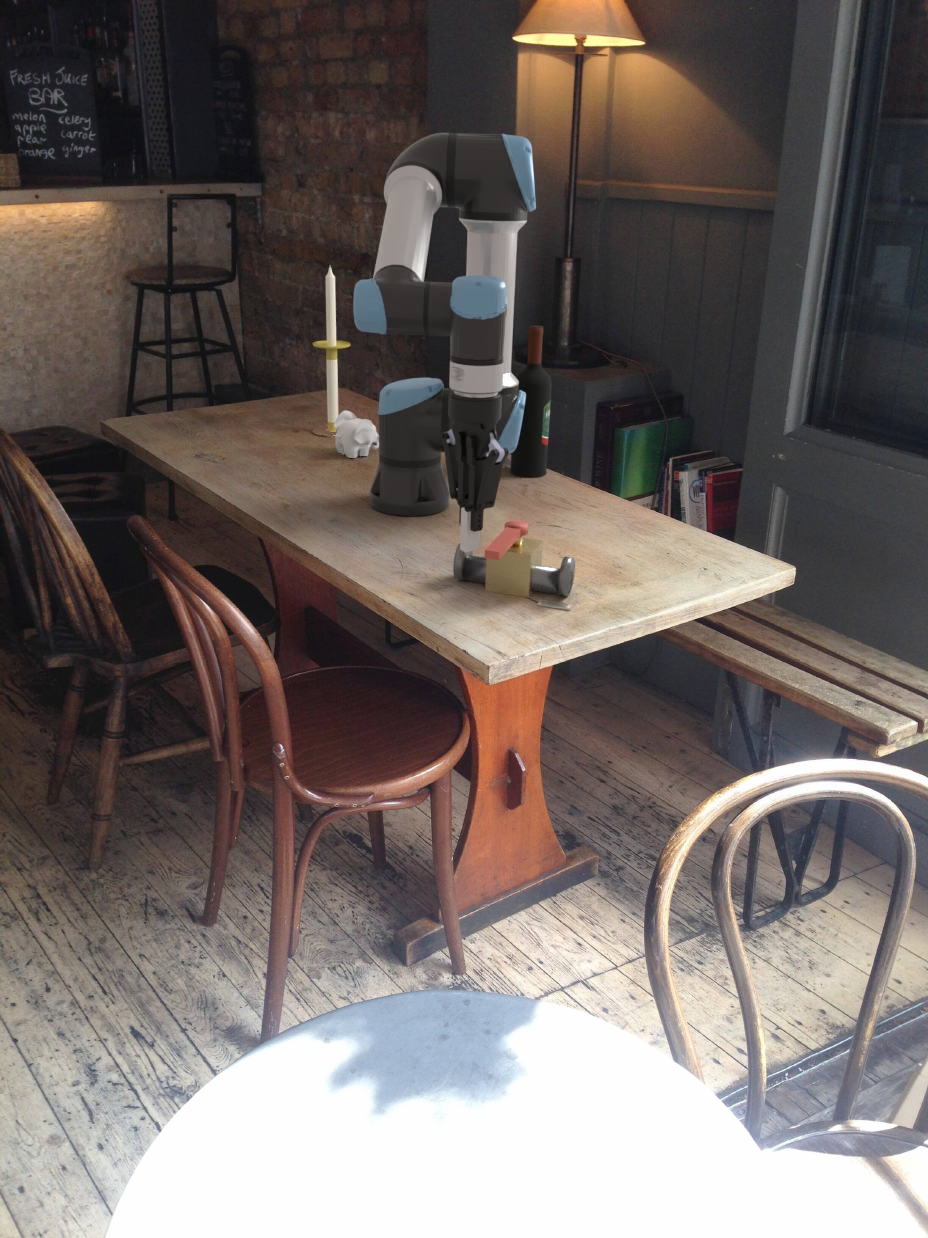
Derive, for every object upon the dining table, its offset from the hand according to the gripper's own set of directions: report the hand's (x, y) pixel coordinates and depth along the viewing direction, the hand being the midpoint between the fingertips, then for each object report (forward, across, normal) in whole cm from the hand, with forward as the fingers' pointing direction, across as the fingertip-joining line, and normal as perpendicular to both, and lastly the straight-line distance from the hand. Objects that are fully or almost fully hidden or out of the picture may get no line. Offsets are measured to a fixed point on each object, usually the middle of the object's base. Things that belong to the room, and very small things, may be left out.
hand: (470, 549), depth 163 cm
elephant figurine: (+8, -77, +31) cm, 83 cm away
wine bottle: (+8, -46, +53) cm, 71 cm away
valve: (+8, +1, +8) cm, 12 cm away
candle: (+8, -96, +36) cm, 103 cm away
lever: (-1, +3, +4) cm, 5 cm away
